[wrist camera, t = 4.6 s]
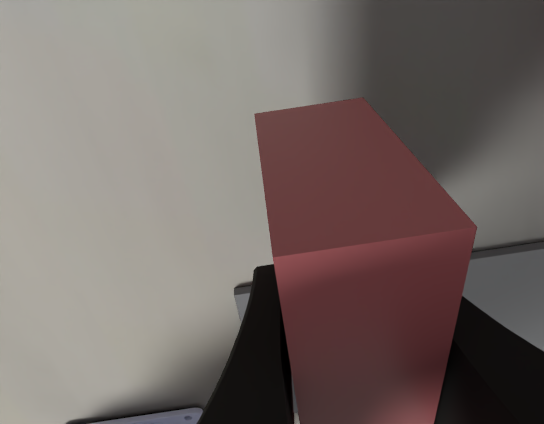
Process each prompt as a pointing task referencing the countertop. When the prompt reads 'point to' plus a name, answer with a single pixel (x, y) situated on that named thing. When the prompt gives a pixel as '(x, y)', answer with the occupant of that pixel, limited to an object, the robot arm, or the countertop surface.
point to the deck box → (361, 264)
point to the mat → (492, 290)
